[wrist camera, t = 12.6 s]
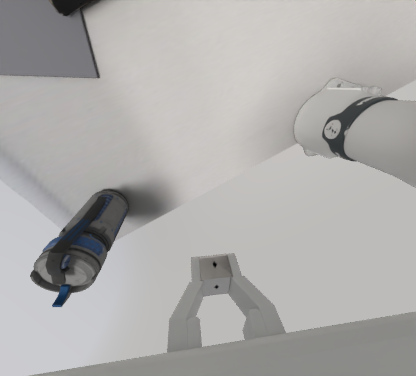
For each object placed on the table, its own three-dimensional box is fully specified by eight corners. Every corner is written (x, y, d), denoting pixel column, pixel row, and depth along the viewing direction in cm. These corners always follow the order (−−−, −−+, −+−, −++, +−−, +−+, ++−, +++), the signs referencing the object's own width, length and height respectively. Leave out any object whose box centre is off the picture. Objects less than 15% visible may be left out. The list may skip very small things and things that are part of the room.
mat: (58, -71, 24) (55, -75, 23) (98, 78, 33) (97, 77, 32) (-92, -91, 21) (-98, -96, 21) (-4, 74, 31) (-7, 74, 30)
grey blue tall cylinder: (132, 185, 46) (86, 266, 24) (128, 220, 52) (89, 310, 30) (91, 177, 43) (0, 261, 22) (92, 215, 49) (22, 309, 28)
